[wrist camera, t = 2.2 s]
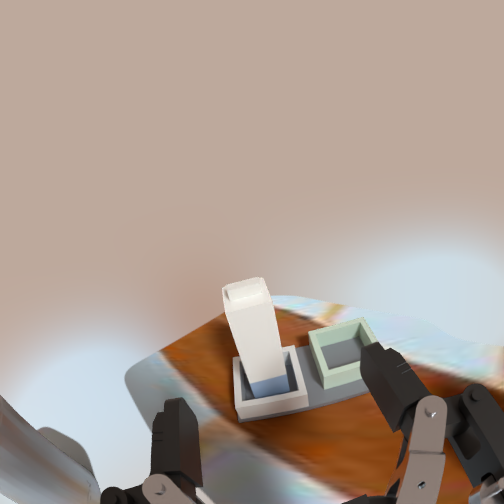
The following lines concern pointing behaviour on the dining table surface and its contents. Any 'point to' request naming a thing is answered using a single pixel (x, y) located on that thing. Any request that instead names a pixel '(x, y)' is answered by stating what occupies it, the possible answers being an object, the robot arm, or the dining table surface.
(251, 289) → the milk carton
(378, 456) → the dining table surface
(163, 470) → the robot arm
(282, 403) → the double bin tray
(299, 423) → the dining table surface
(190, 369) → the dining table surface
